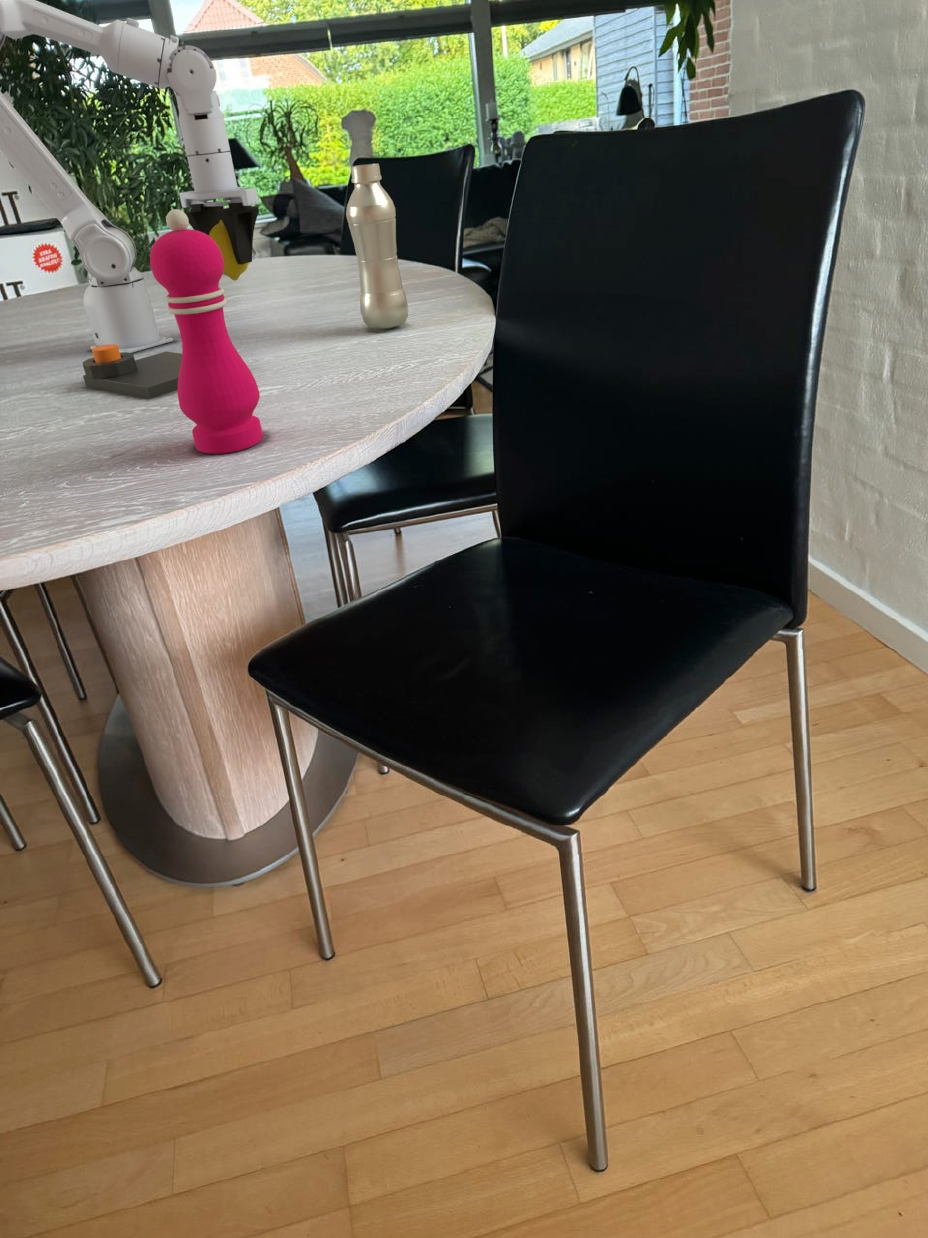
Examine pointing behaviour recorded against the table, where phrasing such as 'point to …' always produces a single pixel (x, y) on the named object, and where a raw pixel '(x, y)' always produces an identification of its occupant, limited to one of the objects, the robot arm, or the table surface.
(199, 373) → the pepper mill
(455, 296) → the table surface
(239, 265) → the lemon
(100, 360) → the button
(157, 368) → the grey peg base
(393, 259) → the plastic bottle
